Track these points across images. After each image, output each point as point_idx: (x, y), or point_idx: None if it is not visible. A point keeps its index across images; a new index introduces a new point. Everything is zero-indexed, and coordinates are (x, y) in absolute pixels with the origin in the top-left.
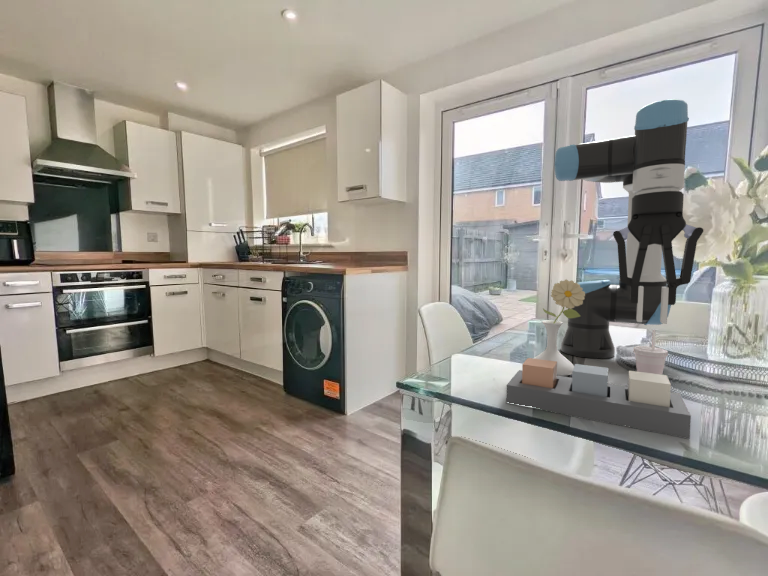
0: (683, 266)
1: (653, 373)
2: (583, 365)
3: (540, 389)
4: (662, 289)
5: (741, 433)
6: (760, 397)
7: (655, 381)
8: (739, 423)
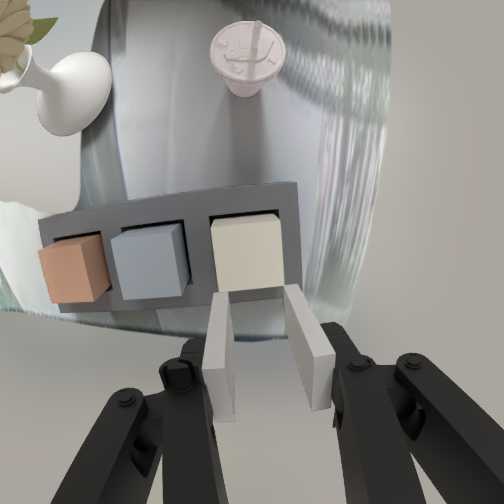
0: (420, 457)
1: (253, 89)
2: (126, 243)
3: (99, 307)
4: (310, 378)
5: (355, 219)
6: (390, 42)
7: (260, 282)
8: (360, 177)
